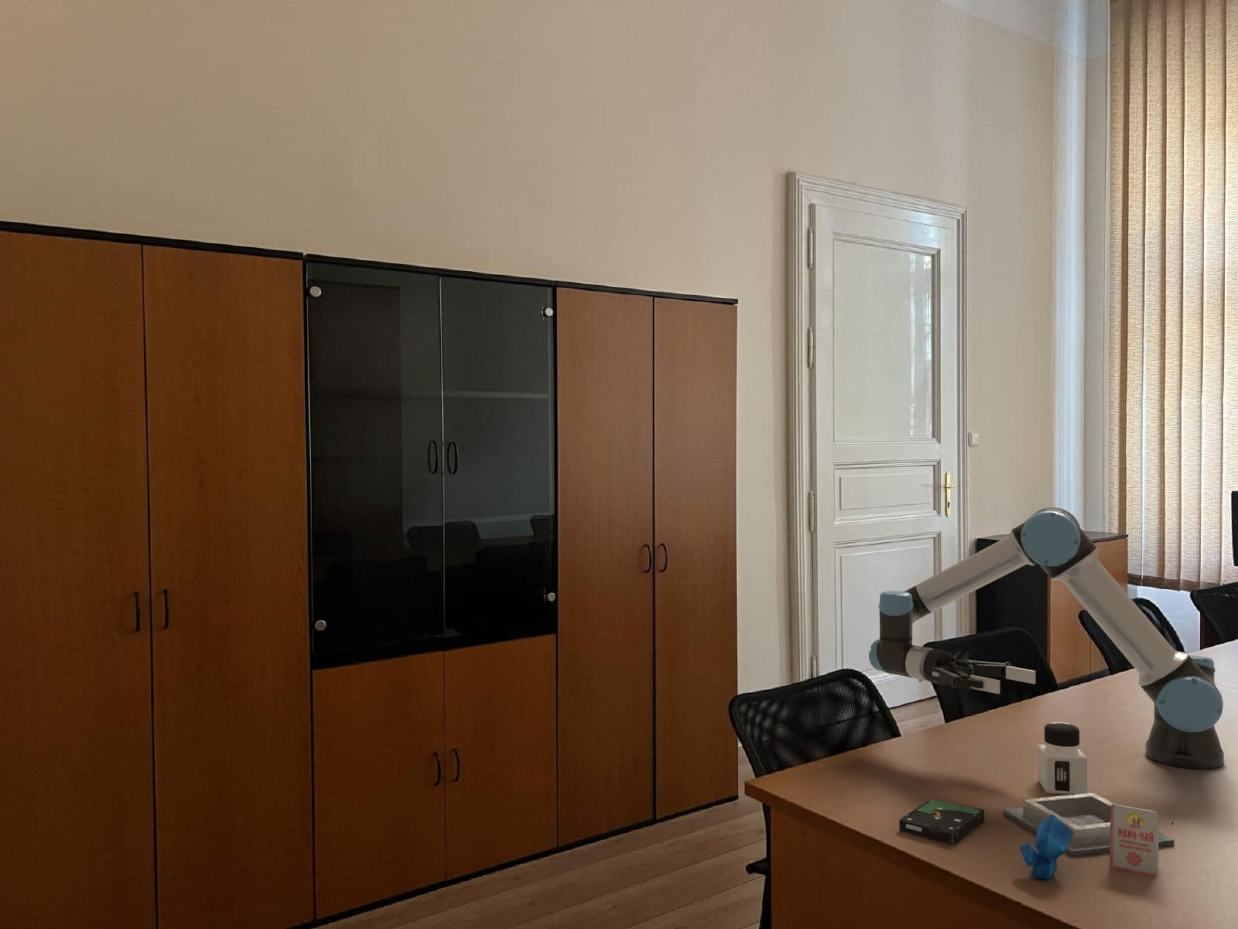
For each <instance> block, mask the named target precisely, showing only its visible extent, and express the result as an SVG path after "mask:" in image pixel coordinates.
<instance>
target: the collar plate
mask: <svg viewBox="0 0 1238 929" xmlns="http://www.w3.org/2000/svg"><path fill="white" fill-rule="evenodd" d="M1111 804H1115V802H1112V801H1110V800H1108V799H1106V798H1104V797H1102V796H1100V795H1098V794H1096V793H1095V792H1087V793H1086V794H1076V795H1072V794H1065V795H1059V796H1048V797H1037V798H1036V797H1035V798H1025V799H1022V807H1015V808H1005V809H1004V808H1003V809H1002V810H1003V811H1002V813H1003V814H1002V815H1004V816H1005V817H1007V818H1008V819H1010V820H1012V821H1013V822H1015V823H1016V824H1018V825H1019V826H1021V827H1022V828H1025V830H1027V831H1030V832H1032V833H1033V834H1034V835H1036V836H1037V829H1038V825H1040V824H1041V823H1042V822H1043V821H1044V820H1045V819H1047V818H1048V817H1049V816H1050V815H1054V816H1055V817H1057V818H1058V819H1059V820H1060V821H1061V822H1062V823H1064V824H1065V825H1066V826H1067V827H1068V828H1070V829H1071V830H1072V831H1073V835H1072V837H1071V839H1070V841H1069V844H1068V846H1067V848H1066V850H1065V852H1064V854H1065V853H1066V854H1068V855H1069V856H1070V857H1072V858H1077V857H1084V856H1097V855H1105V854H1110V820H1111ZM1158 833H1159V848H1166V847H1167V848H1168V847H1174V846H1175V839H1173V838H1171V837H1170V836H1168V835H1165V834H1163V833H1161V832H1159V831H1158Z"/></svg>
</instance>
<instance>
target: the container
mask: <svg viewBox="0 0 1238 929" xmlns="http://www.w3.org/2000/svg"><path fill="white" fill-rule="evenodd" d="M1043 731H1044V744H1038V745H1037V772H1038V773H1037V780H1038V782H1039V783H1040V785H1041V787H1042V788H1043V790H1044V791H1045V793H1047V794H1057V795H1058V794H1059V795H1072V794H1086V793H1088V758H1087V756H1086V754H1084V753H1083V752H1082V750H1081V749H1080V745H1081V744H1080V737H1081V736H1080V729H1079V727H1077V726H1076V725H1074V724H1072V723H1069V722H1060V721H1055V722H1050V723H1047V724H1045V726H1044V730H1043Z"/></svg>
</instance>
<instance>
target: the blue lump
mask: <svg viewBox="0 0 1238 929" xmlns="http://www.w3.org/2000/svg"><path fill="white" fill-rule="evenodd" d="M1072 835H1073V831H1072V830H1071V829H1070V828H1068V827H1067V826H1066V825H1065V824H1064V823H1062V822H1061V821H1060V820H1059V819H1058V818H1057V817H1055V816H1054V815H1050V816H1049V817H1048V818H1047V819H1045V820H1044V821H1043V822H1042V823H1041V824H1040V825H1038V829H1037V835H1036V838H1035V844H1034V847H1035V849H1034V847H1033V845H1032V843H1030V842H1027V843H1025V844H1022V845H1020V846H1019V851H1020V853H1021V855H1022V857H1023V860H1024V862H1025V863H1026V865H1027V867H1032V876H1033V877H1034V878H1038V879H1041V880H1042V879H1043V880H1046V881H1048V880H1049V879H1051V877H1052V875H1053V874H1054V872H1055V870H1056V869H1057V868H1058V865H1057V862H1058V858H1060V857H1061V856H1062V855H1063V854H1065V850H1066V848H1067V846H1068V844H1069V841H1070V839H1071V837H1072Z"/></svg>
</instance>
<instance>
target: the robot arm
mask: <svg viewBox="0 0 1238 929" xmlns="http://www.w3.org/2000/svg"><path fill="white" fill-rule="evenodd" d="M1009 532H1010V533H1009V535H1007V536H1006V537H1005V538H1002V539H1001V540H999V541H997V542H995V543H993V544H991V545H989V546H986V548H983V549H982V550H980V551H978V552H976V553H974V554H972V555H971V556H969V557H966V558H964V559H962V560H961V561H959V562H957V563H955V564H954V565H951V566H950V567H948V568H945V569H944V570H942V571H940V572H938V573H937V574H935V575H932V576H930V577H929V578H927V579H924V580H923V581H921V582H919V583H918V584H916V585H914V586H912V587H910V588H908V589H906V590H903V591H902V590H887V591H882V592H881V593H880V595H879V604H878V609H879V612H878V614H879V639H876V640H875V641H873V642H872V643H871V646H870V650H869V651H868V660H869V662H870V665H871V666H872V668H874V669H875V670H877V671H880V672H883V673H886V674H889V675H896V676H900V677H906V678H910V679H917V680H918V682H919V683H922V682H924V681H925V682H929V683H933V684H938V685H948V686H950V687H952V688H954V689H957V690H959V689H962V691H963V692H969V691H970V690H969V689H973V690H977V691H981V692H986V693H987V692H988V693H993V694H997V695H999V694H1001V680H998V679H995V678H998V677H999V678H1005V679H1006V680H1007V679H1008V680H1012V681H1017V682H1023V683H1027V684H1032V685H1035V684H1036V670H1032V669H1026V668H1022V667H1021V668H1020V667H1016V666H1012V664H1011V663H1010V662H1009V661H1005V662H992V661H981V660H973V659H972V660H971V659H965V660H963V659H957V660H955V659H954V656H953V655H952V653H951V652H949V651H947V650H943V649H936V648H935V649H934V648H932V647H927V646H926V647H925V646H920V645H914V644H913V624H914V623H915V622H916V621H918V620H920V619H921V618H924V617H926V616H928V615H930V614H932V613H933V612H935V611H937V610H939V609H941V608H943V607H945V606H946V605H948V604H952V603H953V602H954V601H957V600H959V599H960V598H963V597H965V596H967V595H969V594H970V593H972V592H975V591H977V590H978V589H980V588H982V587H984V586H986V585H988V584H991V583H993V582H994V581H996V580H998V579H1000V578H1002V577H1004V576H1006V575H1008V574H1010V573H1012V572H1014V571H1016V570H1018V569H1020V568H1022V567H1024V566H1027V565H1029V566H1035V565H1039V566H1040V567H1041V568H1042V570H1043V571H1044V572H1045V573H1046V574H1047V576H1048V577H1049V578H1050V579H1051V580H1052V581H1057V582H1062V583H1063V584H1064V585H1065V586H1066V587H1067V589H1068V590H1069V591H1070V592H1071V593H1072V595H1073V596H1074V597H1075V598H1076V600H1077V601H1078V602H1079V603H1080V604H1081V605H1082V607H1084V609H1085V610H1086V611H1087V613H1088V614H1089V615H1090V617H1091V618H1093V620H1094V621H1095V622H1096V623H1097V625H1098V626H1099V627H1100V628H1101V630H1103V632H1104V633H1105V634H1106V635H1107V637H1108V638H1109V639H1110V640H1111V642H1112V643H1113V644H1114V645H1115V646H1116V647H1117V649H1118V650H1119V651H1120V652H1121V653H1122V654H1123V656H1124V658H1126V660H1128V662H1129V663H1130V664H1131V665H1132V667H1133V668H1134V669H1135V670H1136V672H1138V685H1139V686H1140V688H1142V690H1143V692H1144V693H1146V695H1147V696H1148V697H1149V699H1150V700H1151V701H1152V702H1153V709H1154V710H1153V714H1154V716H1153V723H1152V726H1151V729H1150V733H1149V735H1148V739H1147V740H1146V741H1145V746H1144V747H1145V751H1144V752H1145V755H1146V756H1147V757H1148V758H1149V759H1151V760H1153V761H1155V762H1158V763H1161V764H1164V765H1169V766H1173V767H1179V768H1184V769H1185V768H1187V769H1195V770H1196V769H1198V770H1199V769H1201V770H1203V769H1204V770H1205V769H1206V770H1208V769H1216V768H1220V767H1222V766H1224V764H1225V753H1224V750H1223V748H1222V746H1221V743H1220V740H1219V736H1218V734H1217V731H1216V727H1215V725H1216V724H1217V723H1218V721H1219V720H1220V718H1221V717H1222V713H1223V709H1224V702H1223V701H1224V700H1223V696H1222V694H1221V692H1220V690H1219V689H1218V687H1217V684H1216V682H1215V673H1216V668H1215V661H1214V660H1213V659H1212V658H1211V657H1207V656H1201V655H1193V654H1192V655H1191V654H1188V652H1183V651H1178V650H1175V649H1174V647H1173V646H1172V645H1171V644H1170V642H1168V641H1167V639H1166V638H1165V637H1164V636H1163V635H1162V633H1161V632H1160V631H1159V629H1157V628H1156V626H1155V625H1154V624H1153V623H1152V621H1151V620H1150V619H1149V618H1148V617H1147V616H1146V614H1144V612H1143V611H1142V610H1141V609H1140V607H1139V606H1138V605H1136V603H1135V602H1134V601H1133V599H1132V598H1131V597H1130V596H1129V595H1128V594H1127V592H1126V591H1125V590H1124V589H1123V587H1121V586H1120V584H1119V583H1118V582H1117V580H1115V578H1114V577H1113V576H1112V575H1111V573H1110V572H1109V571H1108V570H1107V569H1106V568H1105V566H1104V565H1103V564H1102V563H1101V562H1100V560H1098V551H1099V548H1098V547H1097V546H1096V545H1095V543H1094V542H1093V541H1092V540H1091V539H1090V538H1089V536H1088V535H1087V534H1086V533H1085V532H1084V531H1083V529H1082V528H1081V525H1080V522H1079V521H1078V520H1077V518H1076V517H1075V516H1074V515H1073V514H1072V513H1070V512H1069V511H1068V510H1066V509H1064V508H1060V507H1054V506H1053V507H1051V506H1050V507H1045V508H1042V509H1040V510H1037V511H1036V512H1034V513H1033V514H1032V515H1031V516H1030V517H1028V518H1027V519H1026V520H1025V521H1024V522H1023V523H1021V524H1019V525H1017V526H1016V527H1014V528H1012V529H1011V530H1010V531H1009ZM989 677H994V678H989Z"/></svg>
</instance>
